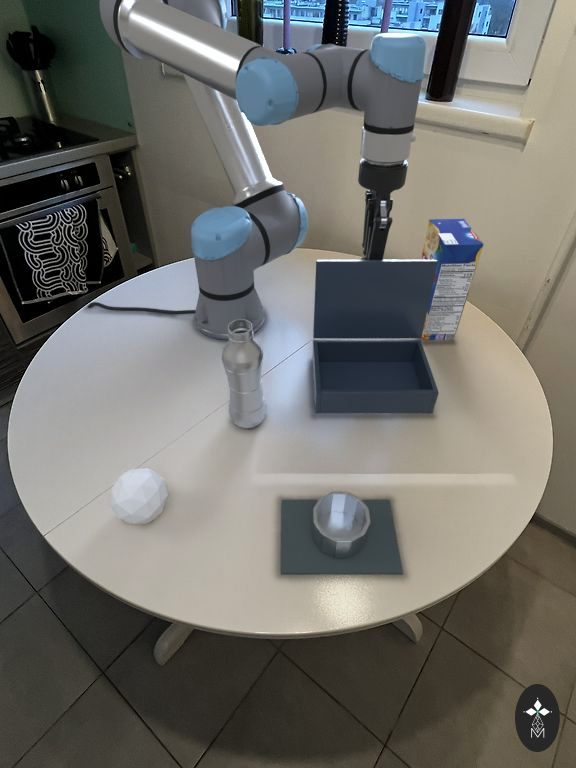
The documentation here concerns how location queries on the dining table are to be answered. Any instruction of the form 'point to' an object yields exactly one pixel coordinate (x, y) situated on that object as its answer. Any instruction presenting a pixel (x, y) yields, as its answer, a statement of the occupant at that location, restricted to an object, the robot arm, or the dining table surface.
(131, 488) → the geometric ball
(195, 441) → the dining table surface
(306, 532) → the mat
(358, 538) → the grey hollow cylinder
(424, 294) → the chest lid
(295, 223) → the robot arm
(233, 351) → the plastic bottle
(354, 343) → the box
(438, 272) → the blue cereal box
